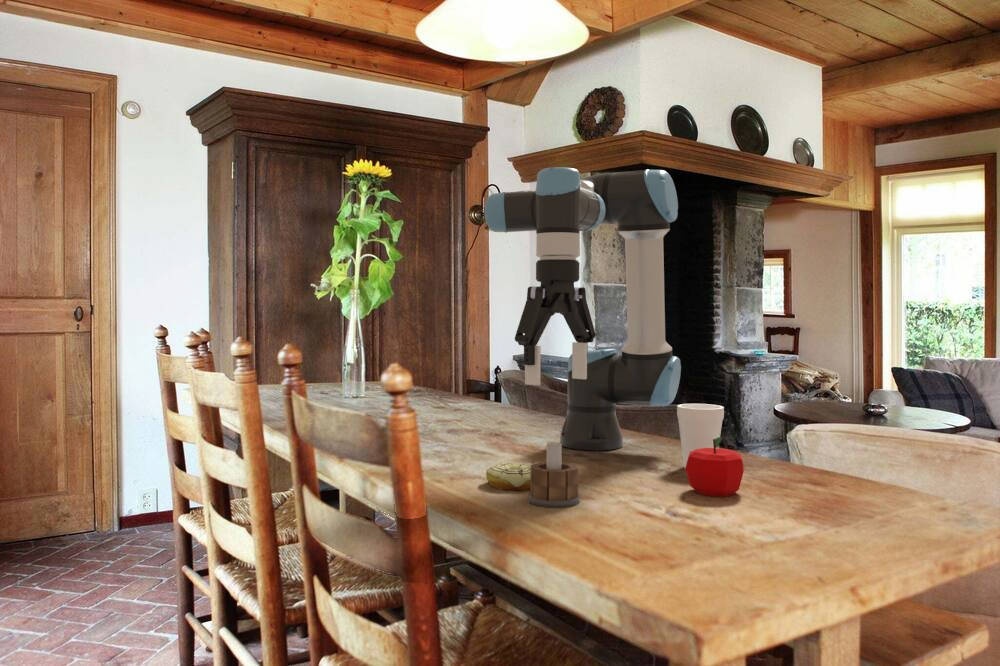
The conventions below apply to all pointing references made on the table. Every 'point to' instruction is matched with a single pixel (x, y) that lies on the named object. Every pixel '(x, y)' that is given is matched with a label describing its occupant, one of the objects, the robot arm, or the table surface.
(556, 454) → the post
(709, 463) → the apple
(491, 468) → the decorated donut
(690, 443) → the foam cup
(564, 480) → the ring
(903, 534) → the table surface
